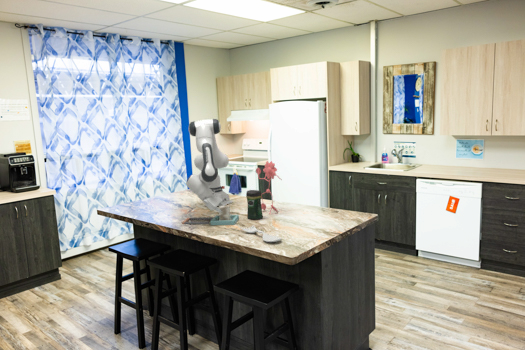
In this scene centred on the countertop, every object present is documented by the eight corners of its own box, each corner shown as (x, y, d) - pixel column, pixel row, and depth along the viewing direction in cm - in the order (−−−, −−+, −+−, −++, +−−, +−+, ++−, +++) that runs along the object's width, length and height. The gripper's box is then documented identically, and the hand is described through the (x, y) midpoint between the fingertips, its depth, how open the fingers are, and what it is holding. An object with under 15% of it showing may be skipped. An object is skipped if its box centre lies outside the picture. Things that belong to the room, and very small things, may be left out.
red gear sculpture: (277, 216, 267) (275, 163, 262) (251, 210, 286) (249, 161, 282) (293, 212, 277) (292, 161, 272) (268, 207, 296) (266, 159, 292)
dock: (210, 225, 254) (210, 221, 254) (216, 218, 269) (216, 215, 268) (234, 224, 252) (233, 220, 252) (238, 218, 267) (238, 214, 266)
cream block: (219, 222, 258) (218, 207, 257) (221, 220, 263) (220, 205, 262) (228, 222, 258) (227, 207, 256) (230, 220, 262) (229, 205, 261)
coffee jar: (264, 217, 266) (263, 189, 263) (257, 220, 260) (255, 191, 257) (253, 216, 272) (251, 188, 269) (245, 218, 265) (243, 190, 263)
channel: (182, 224, 258) (181, 222, 258) (188, 219, 270) (187, 217, 270) (208, 224, 256) (208, 222, 256) (213, 219, 268) (213, 217, 267)
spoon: (253, 229, 241) (253, 223, 240) (285, 242, 214) (284, 236, 213) (240, 232, 236) (239, 226, 235) (270, 246, 209) (270, 239, 208)
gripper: (205, 195, 249) (222, 210, 249) (214, 189, 269) (229, 203, 269) (199, 202, 250) (215, 218, 250) (208, 195, 270) (223, 210, 270)
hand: (223, 210), depth 260 cm, fingers open, 8 cm apart
